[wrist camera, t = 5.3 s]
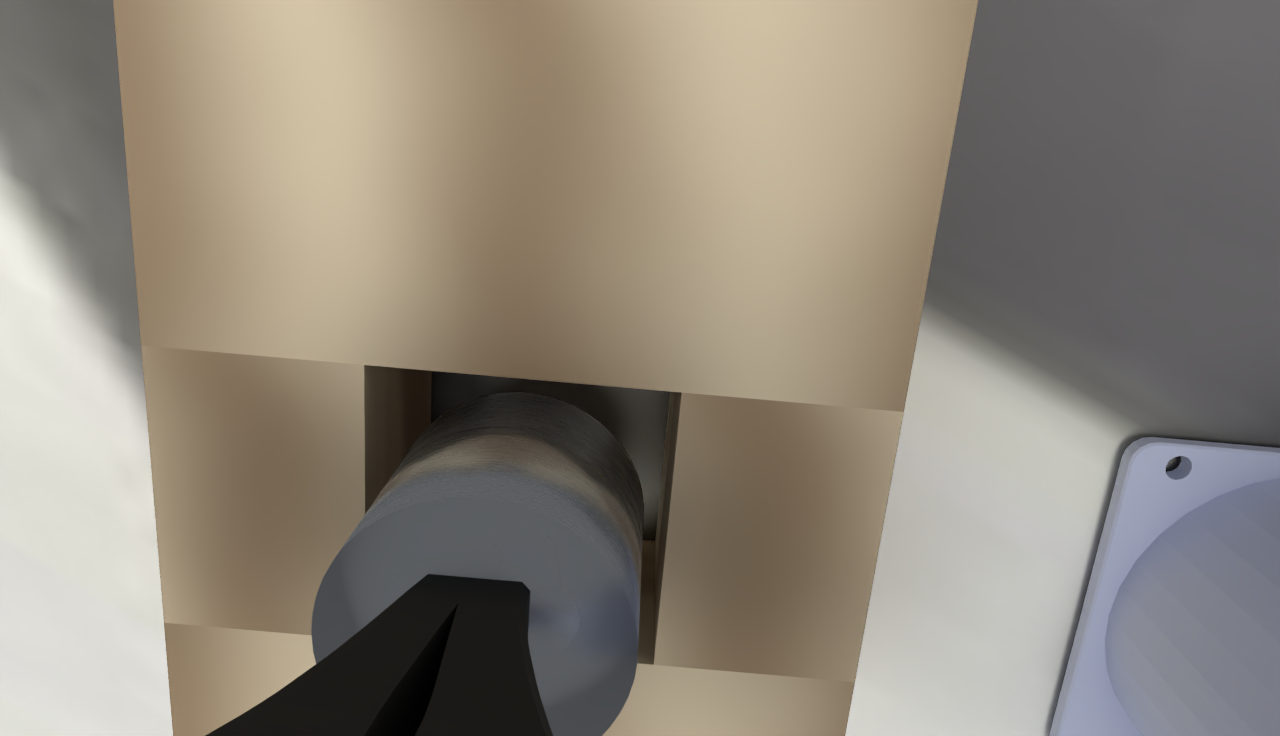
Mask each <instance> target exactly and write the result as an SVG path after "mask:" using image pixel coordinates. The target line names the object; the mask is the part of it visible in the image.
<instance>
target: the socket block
mask: <svg viewBox="0 0 1280 736" xmlns="http://www.w3.org/2000/svg"><path fill="white" fill-rule="evenodd" d="M113 4H114V17H115V29H116V41H117V53H118V66H119V78H120V90H121V102H122V114H123V127H124V139H125V151H126V163H127V176H128V188H129V200H130V212H131V224H132V237H133V249H134V261H135V273H136V286H137V298H138V310H139V322H140V335H141V347H142V359H143V371H144V383H145V396H146V408H147V420H148V432H149V445H150V457H151V469H152V481H153V493H154V506H155V518H156V530H157V542H158V555H159V567H160V579H161V591H162V603H163V616H164V628H165V640H166V652H167V665H168V677H169V689H170V701H171V714H172V726H173V736H205V735H207V734H209V733H210V732H212V731H214V730H216V729H217V728H219V727H221V726H223V725H224V724H226V723H228V722H229V721H231V720H233V719H235V718H236V717H238V716H240V715H242V714H243V713H245V712H246V711H248V710H250V709H251V708H253V707H254V706H256V705H258V704H259V703H261V702H262V701H264V700H266V699H267V698H269V697H270V696H272V695H273V694H275V693H276V692H278V691H279V690H281V689H282V688H283V687H285V686H286V685H288V684H289V683H290V682H292V681H293V680H295V679H296V678H297V677H299V676H300V675H302V674H303V673H304V672H306V671H307V670H309V669H310V668H311V667H313V666H314V665H316V661H315V657H314V653H313V645H312V635H311V628H312V613H313V608H314V603H315V598H316V595H317V592H318V589H319V587H320V584H321V581H322V579H323V577H324V575H325V573H326V572H327V570H328V568H329V566H330V565H331V563H332V561H333V560H334V558H335V557H336V555H337V554H338V553H339V551H340V550H341V548H342V547H343V545H344V544H345V542H346V541H347V540H348V538H349V537H350V535H351V534H352V532H353V531H354V530H355V528H356V527H357V525H358V524H359V522H360V521H361V519H362V518H363V517H364V515H365V514H366V512H367V511H368V509H369V508H370V506H371V505H372V504H373V502H374V501H375V499H376V498H377V496H378V495H379V493H380V492H381V491H382V489H383V488H384V486H385V485H386V483H387V482H388V480H389V479H390V478H391V476H392V475H393V473H394V472H395V470H396V469H397V467H398V466H399V465H400V463H401V462H402V460H403V459H404V457H405V456H406V454H407V453H408V452H409V450H410V449H411V447H412V446H413V444H414V443H415V442H416V440H417V439H418V438H419V436H420V435H421V434H422V433H423V431H424V430H425V429H426V428H427V427H428V426H429V425H430V424H431V389H432V371H440V372H451V373H463V374H474V375H486V376H497V377H509V378H520V379H532V380H543V381H555V382H566V383H578V384H589V385H601V386H612V387H624V388H635V389H646V390H658V391H669V392H670V398H669V408H668V418H667V428H666V438H665V448H664V458H663V468H662V479H661V489H660V499H659V509H658V519H657V529H656V539H655V541H650V540H643V543H642V567H641V591H640V616H639V640H638V662H637V668H636V673H635V679H634V682H633V685H632V688H631V691H630V694H629V697H628V699H627V701H626V703H625V705H624V707H623V708H622V710H621V712H620V714H619V715H618V717H617V718H616V719H615V721H614V722H613V724H612V725H611V726H610V728H609V729H608V730H607V731H606V732H605V733H604V734H603V735H602V736H845V733H846V727H847V722H848V716H849V711H850V705H851V700H852V694H853V689H854V683H855V678H856V672H857V667H858V661H859V656H860V650H861V645H862V639H863V634H864V628H865V623H866V617H867V611H868V606H869V600H870V595H871V589H872V584H873V578H874V573H875V567H876V562H877V556H878V551H879V545H880V540H881V534H882V529H883V523H884V518H885V512H886V507H887V501H888V496H889V490H890V485H891V479H892V473H893V468H894V462H895V457H896V451H897V446H898V440H899V435H900V429H901V424H902V418H903V413H904V407H905V402H906V396H907V391H908V385H909V380H910V374H911V369H912V363H913V358H914V352H915V346H916V341H917V335H918V330H919V324H920V319H921V313H922V308H923V302H924V297H925V291H926V286H927V280H928V275H929V269H930V264H931V258H932V253H933V247H934V242H935V236H936V231H937V225H938V220H939V214H940V208H941V203H942V197H943V192H944V186H945V181H946V175H947V170H948V164H949V159H950V153H951V148H952V142H953V137H954V131H955V126H956V120H957V115H958V109H959V104H960V98H961V93H962V87H963V81H964V76H965V70H966V65H967V59H968V54H969V48H970V43H971V37H972V32H973V26H974V21H975V15H976V10H977V4H978V0H113Z"/></svg>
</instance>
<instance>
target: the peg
mask: <svg viewBox="0 0 1280 736" xmlns="http://www.w3.org/2000/svg"><path fill="white" fill-rule="evenodd" d="M643 518H644V503H643V494H642V488H641V485H640V481H639V477H638V474H637V472H636V470H635V467H634V465H633V462H632V460H631V459H630V457H629V455H628V454H627V452H626V450H625V449H624V447H623V446H622V445H621V444H620V442H619V441H618V440H617V438H616V437H615V436H614V435H613V434H612V433H611V432H610V431H609V430H608V429H607V428H606V427H605V426H604V425H603V424H602V423H600V422H599V421H598V420H596V419H595V418H594V417H592V416H591V415H590V414H588V413H586V412H584V411H583V410H581V409H579V408H577V407H576V406H574V405H571V404H569V403H566V402H564V401H561V400H559V399H555V398H552V397H548V396H545V395H539V394H533V393H523V392H506V393H496V394H490V395H486V396H482V397H477V398H474V399H472V400H469V401H466V402H464V403H461V404H459V405H458V406H456V407H454V408H452V409H450V410H448V411H447V412H445V413H444V414H443V415H441V416H440V417H438V418H437V419H436V420H435V421H433V422H432V423H431V424H430V425H429V426H428V427H427V428H426V429H425V430H424V431H423V433H422V434H421V435H420V436H419V438H418V439H417V440H416V442H415V443H414V444H413V446H412V447H411V449H410V450H409V452H408V453H407V454H406V456H405V457H404V459H403V460H402V462H401V463H400V465H399V466H398V467H397V469H396V470H395V472H394V473H393V475H392V476H391V478H390V479H389V480H388V482H387V483H386V485H385V486H384V488H383V489H382V491H381V492H380V493H379V495H378V496H377V498H376V499H375V501H374V502H373V504H372V505H371V506H370V508H369V509H368V511H367V512H366V514H365V515H364V517H363V518H362V519H361V521H360V522H359V524H358V525H357V527H356V528H355V530H354V531H353V532H352V534H351V535H350V537H349V538H348V540H347V541H346V542H345V544H344V545H343V547H342V548H341V550H340V551H339V553H338V554H337V555H336V557H335V558H334V560H333V561H332V563H331V565H330V566H329V568H328V570H327V572H326V573H325V575H324V577H323V579H322V581H321V584H320V587H319V589H318V592H317V595H316V598H315V603H314V608H313V613H312V628H311V635H312V645H313V653H314V657H315V661H316V664H317V663H318V662H320V661H321V660H323V659H324V658H325V657H327V656H328V655H329V654H331V653H332V652H333V651H334V650H336V649H337V648H338V647H339V646H341V645H342V644H343V643H344V642H346V641H347V640H348V639H350V638H351V637H352V636H353V635H355V634H356V633H357V632H358V631H360V630H361V629H362V628H363V627H365V626H366V625H367V624H368V623H369V622H371V621H372V620H373V619H374V618H375V617H377V616H378V615H379V614H380V613H381V612H383V611H384V610H385V609H386V608H387V607H389V606H390V605H391V604H392V603H393V602H394V601H396V600H397V599H398V598H399V597H400V596H401V595H403V594H404V593H405V592H406V591H407V590H409V589H410V588H411V587H412V586H414V585H415V584H416V583H417V582H419V581H420V580H421V579H422V578H424V577H425V576H426V575H427V574H435V575H447V576H458V577H470V578H482V579H494V580H505V581H517V582H523V583H524V584H525V585H526V587H527V588H528V589H529V590H530V608H529V626H528V643H529V650H530V655H531V660H532V664H533V669H534V673H535V678H536V683H537V686H538V690H539V694H540V697H541V701H542V704H543V707H544V710H545V713H546V716H547V719H548V722H549V725H550V728H551V731H552V734H553V736H602V735H603V734H604V733H605V732H606V731H607V730H608V729H609V728H610V726H611V725H612V724H613V722H614V721H615V719H616V718H617V717H618V715H619V714H620V712H621V710H622V708H623V707H624V705H625V703H626V701H627V699H628V697H629V694H630V691H631V688H632V685H633V682H634V679H635V673H636V668H637V662H638V640H639V616H640V591H641V567H642V543H643Z"/></svg>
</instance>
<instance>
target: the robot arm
mask: <svg viewBox="0 0 1280 736" xmlns="http://www.w3.org/2000/svg"><path fill="white" fill-rule="evenodd" d="M1178 456H1181V463H1180V464H1179V466H1178V467H1177V468H1176V469H1174V470H1173V471H1169V472H1166V465H1167V464H1168V462H1169V461H1170V460H1171V459H1173V458H1174V457H1178ZM529 608H530V590H529V589H528V588H527V587H526V585H525V584H524V583H523V582H517V581H505V580H494V579H482V578H470V577H458V576H447V575H435V574H427V575H426V576H425V577H424V578H422V579H421V580H420V581H419V582H417V583H416V584H415V585H414V586H412V587H411V588H410V589H409V590H407V591H406V592H405V593H404V594H403V595H401V596H400V597H399V598H398V599H397V600H396V601H394V602H393V603H392V604H391V605H390V606H389V607H387V608H386V609H385V610H384V611H383V612H381V613H380V614H379V615H378V616H377V617H375V618H374V619H373V620H372V621H371V622H369V623H368V624H367V625H366V626H365V627H363V628H362V629H361V630H360V631H358V632H357V633H356V634H355V635H353V636H352V637H351V638H350V639H348V640H347V641H346V642H344V643H343V644H342V645H341V646H339V647H338V648H337V649H336V650H334V651H333V652H332V653H331V654H329V655H328V656H327V657H325V658H324V659H323V660H321V661H320V662H318V663H317V664H316V665H314V666H313V667H311V668H310V669H309V670H307V671H306V672H304V673H303V674H302V675H300V676H299V677H297V678H296V679H295V680H293V681H292V682H290V683H289V684H288V685H286V686H285V687H283V688H282V689H281V690H279V691H278V692H276V693H275V694H273V695H272V696H270V697H269V698H267V699H266V700H264V701H262V702H261V703H259V704H258V705H256V706H254V707H253V708H251V709H250V710H248V711H246V712H245V713H243V714H242V715H240V716H238V717H236V718H235V719H233V720H231V721H229V722H228V723H226V724H224V725H223V726H221V727H219V728H217V729H216V730H214V731H212V732H210V733H209V734H207V735H205V736H553V734H552V731H551V728H550V725H549V722H548V719H547V716H546V713H545V710H544V707H543V704H542V701H541V697H540V694H539V690H538V686H537V683H536V678H535V673H534V669H533V664H532V660H531V655H530V650H529V643H528V626H529ZM1049 736H1280V448H1273V447H1262V446H1250V445H1239V444H1228V443H1216V442H1205V441H1193V440H1182V439H1170V438H1159V437H1145V438H1141V439H1138V440H1136V441H1134V442H1133V443H1131V444H1130V445H1129V446H1128V447H1127V448H1126V450H1125V452H1124V454H1123V456H1122V459H1121V462H1120V466H1119V470H1118V474H1117V478H1116V482H1115V485H1114V489H1113V493H1112V497H1111V501H1110V505H1109V508H1108V512H1107V516H1106V520H1105V524H1104V528H1103V531H1102V535H1101V539H1100V543H1099V547H1098V551H1097V554H1096V558H1095V562H1094V566H1093V570H1092V574H1091V577H1090V581H1089V585H1088V589H1087V593H1086V597H1085V600H1084V604H1083V608H1082V612H1081V616H1080V620H1079V623H1078V627H1077V631H1076V635H1075V639H1074V643H1073V646H1072V650H1071V654H1070V658H1069V662H1068V666H1067V669H1066V673H1065V677H1064V681H1063V685H1062V688H1061V692H1060V696H1059V700H1058V704H1057V708H1056V711H1055V715H1054V719H1053V723H1052V727H1051V731H1050V734H1049Z"/></svg>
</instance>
